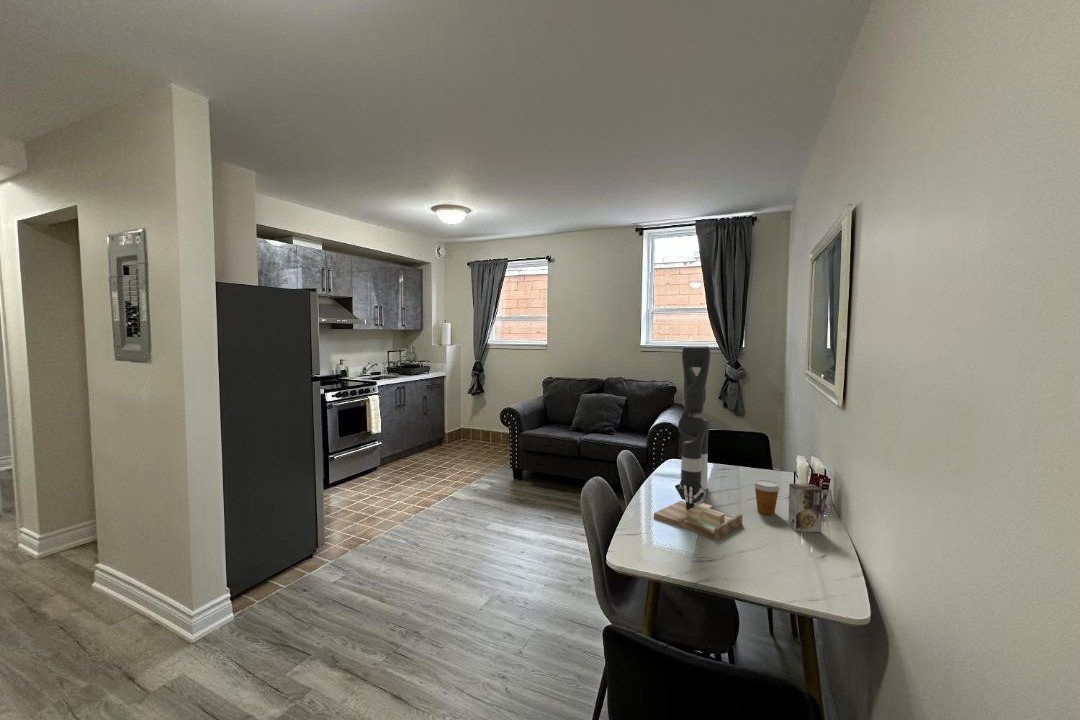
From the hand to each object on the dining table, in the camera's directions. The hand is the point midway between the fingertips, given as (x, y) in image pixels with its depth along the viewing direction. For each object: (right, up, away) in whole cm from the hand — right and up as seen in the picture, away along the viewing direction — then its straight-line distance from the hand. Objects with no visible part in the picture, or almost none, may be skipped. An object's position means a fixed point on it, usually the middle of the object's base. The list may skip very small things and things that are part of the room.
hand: (689, 511), depth 176 cm
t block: (+5, -1, -6) cm, 8 cm away
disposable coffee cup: (+34, -3, +8) cm, 35 cm away
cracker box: (+40, -4, -8) cm, 41 cm away
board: (+2, -3, -2) cm, 4 cm away
